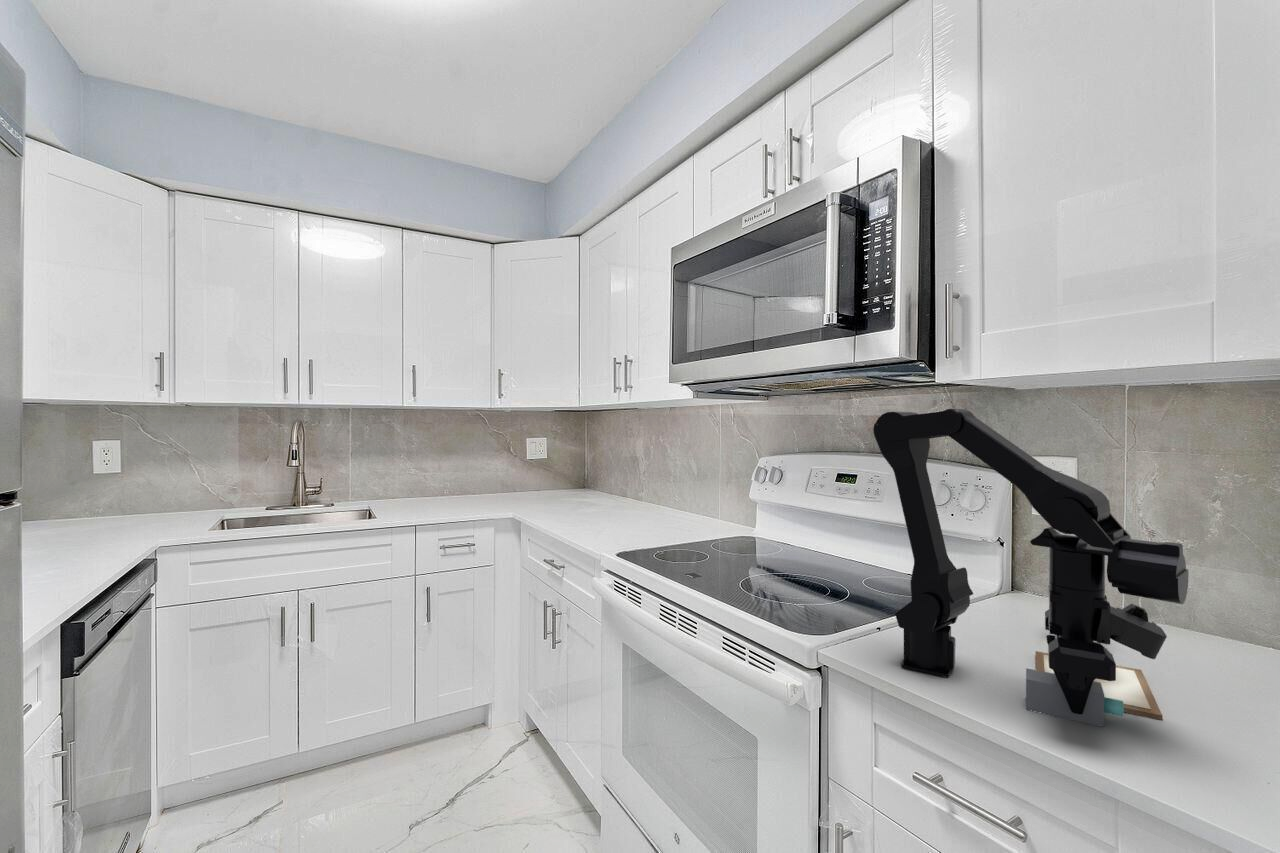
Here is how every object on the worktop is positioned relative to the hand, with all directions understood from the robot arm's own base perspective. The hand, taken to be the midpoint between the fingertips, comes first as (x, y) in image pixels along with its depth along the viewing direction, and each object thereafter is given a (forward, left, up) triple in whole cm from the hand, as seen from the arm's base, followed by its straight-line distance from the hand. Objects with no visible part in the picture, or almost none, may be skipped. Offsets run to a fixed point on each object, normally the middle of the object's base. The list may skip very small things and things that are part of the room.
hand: (1075, 706), depth 75 cm
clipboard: (+2, +12, -1) cm, 12 cm away
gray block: (0, 0, -1) cm, 1 cm away
